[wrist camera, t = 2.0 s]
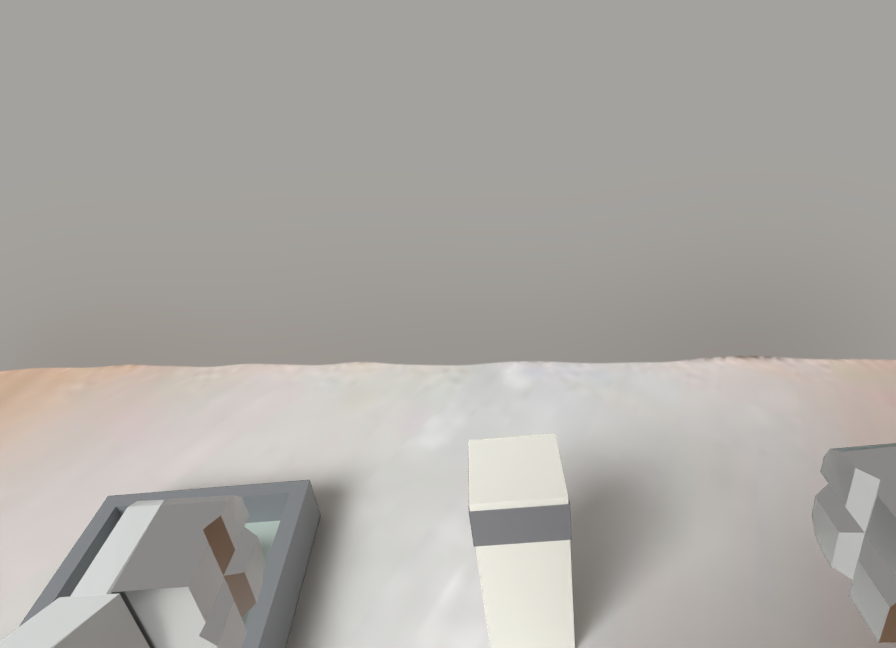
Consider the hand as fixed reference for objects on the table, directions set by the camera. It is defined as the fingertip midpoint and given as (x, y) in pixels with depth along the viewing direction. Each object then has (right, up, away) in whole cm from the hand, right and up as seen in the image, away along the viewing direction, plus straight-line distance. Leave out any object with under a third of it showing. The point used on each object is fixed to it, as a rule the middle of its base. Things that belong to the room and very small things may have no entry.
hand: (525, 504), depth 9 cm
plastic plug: (+3, -12, +23) cm, 26 cm away
